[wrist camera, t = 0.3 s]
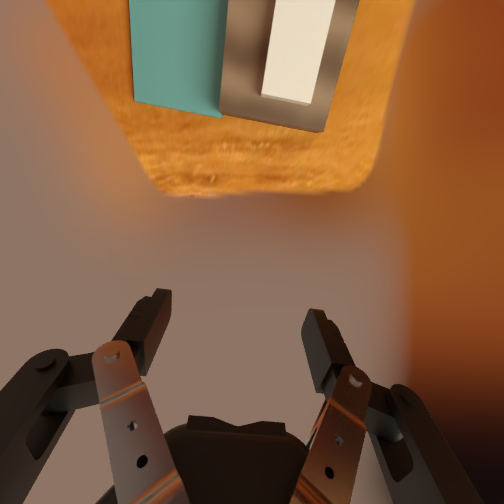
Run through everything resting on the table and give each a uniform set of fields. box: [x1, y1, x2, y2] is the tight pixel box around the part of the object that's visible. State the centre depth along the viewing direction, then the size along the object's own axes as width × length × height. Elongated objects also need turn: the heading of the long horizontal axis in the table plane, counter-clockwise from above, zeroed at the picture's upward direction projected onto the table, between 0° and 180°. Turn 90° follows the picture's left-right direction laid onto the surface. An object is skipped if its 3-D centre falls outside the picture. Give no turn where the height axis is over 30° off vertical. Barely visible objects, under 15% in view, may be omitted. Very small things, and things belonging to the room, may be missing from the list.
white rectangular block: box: [261, 0, 336, 106], centre depth 26 cm, size 9×6×2 cm, turn 170°
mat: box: [129, 0, 229, 118], centre depth 29 cm, size 15×12×1 cm
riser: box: [219, 0, 360, 133], centre depth 28 cm, size 14×14×4 cm
